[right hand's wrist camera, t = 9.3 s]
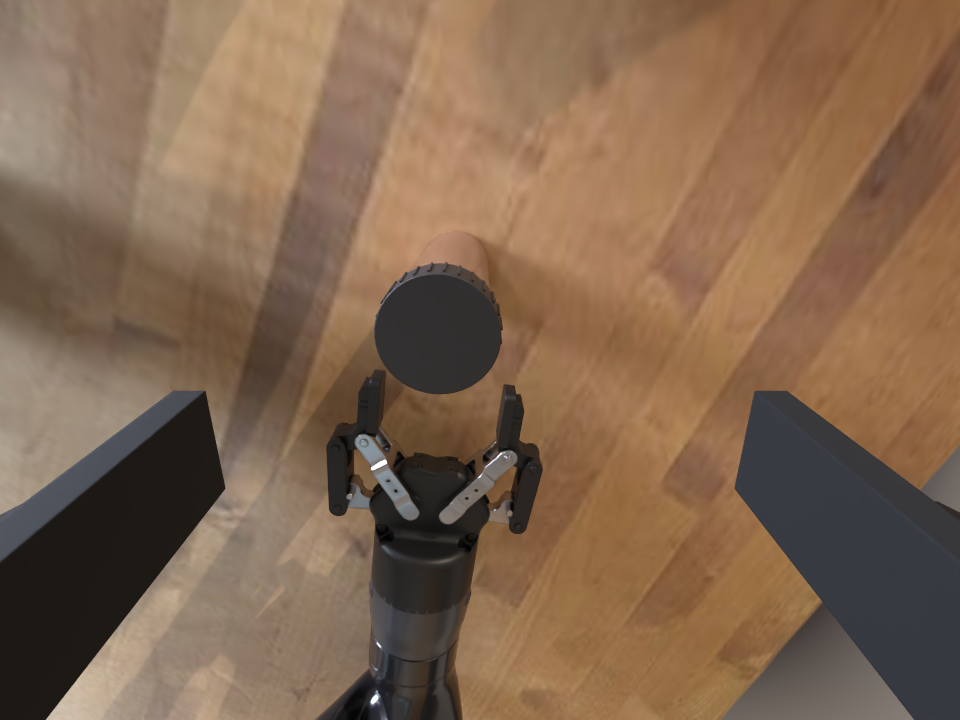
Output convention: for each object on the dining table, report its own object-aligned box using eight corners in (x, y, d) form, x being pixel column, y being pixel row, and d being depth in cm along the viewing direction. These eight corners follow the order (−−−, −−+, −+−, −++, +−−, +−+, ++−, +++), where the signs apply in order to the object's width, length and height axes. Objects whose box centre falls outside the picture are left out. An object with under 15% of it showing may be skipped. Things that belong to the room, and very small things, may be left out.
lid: (371, 269, 23) (359, 280, 21) (494, 253, 23) (495, 263, 21) (394, 381, 25) (385, 402, 23) (507, 368, 25) (509, 388, 23)
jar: (417, 234, 36) (374, 286, 22) (484, 226, 36) (486, 272, 21) (428, 299, 38) (394, 389, 23) (492, 292, 38) (498, 377, 23)
